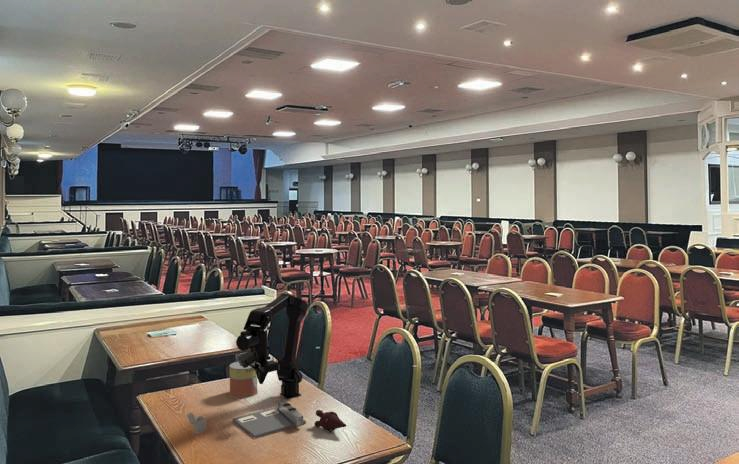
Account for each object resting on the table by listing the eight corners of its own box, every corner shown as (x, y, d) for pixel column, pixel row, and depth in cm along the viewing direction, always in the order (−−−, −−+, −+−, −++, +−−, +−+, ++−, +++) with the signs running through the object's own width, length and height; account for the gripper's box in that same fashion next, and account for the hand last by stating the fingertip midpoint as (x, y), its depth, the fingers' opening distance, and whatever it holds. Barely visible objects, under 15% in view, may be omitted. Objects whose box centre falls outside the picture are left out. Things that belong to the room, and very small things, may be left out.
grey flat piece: (202, 428, 195) (202, 406, 195) (206, 430, 195) (205, 407, 194) (186, 436, 189) (186, 413, 189) (190, 437, 188) (190, 414, 188)
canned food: (254, 398, 225) (254, 369, 224) (226, 398, 225) (226, 368, 224) (260, 388, 236) (260, 360, 236) (233, 388, 236) (233, 360, 236)
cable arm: (276, 408, 210) (276, 399, 210) (283, 406, 212) (283, 398, 212) (296, 425, 195) (295, 416, 194) (303, 423, 196) (303, 414, 196)
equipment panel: (281, 408, 214) (281, 405, 214) (305, 423, 200) (305, 420, 200) (232, 421, 202) (232, 417, 202) (255, 438, 188) (255, 434, 188)
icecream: (354, 414, 193) (324, 407, 203) (339, 415, 187) (309, 407, 197) (352, 435, 191) (321, 427, 201) (337, 436, 186) (306, 428, 196)
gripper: (229, 341, 211) (230, 381, 213) (251, 353, 197) (253, 396, 198) (255, 336, 218) (257, 375, 219) (279, 347, 203) (280, 389, 205)
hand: (261, 383), depth 210 cm, fingers closed
